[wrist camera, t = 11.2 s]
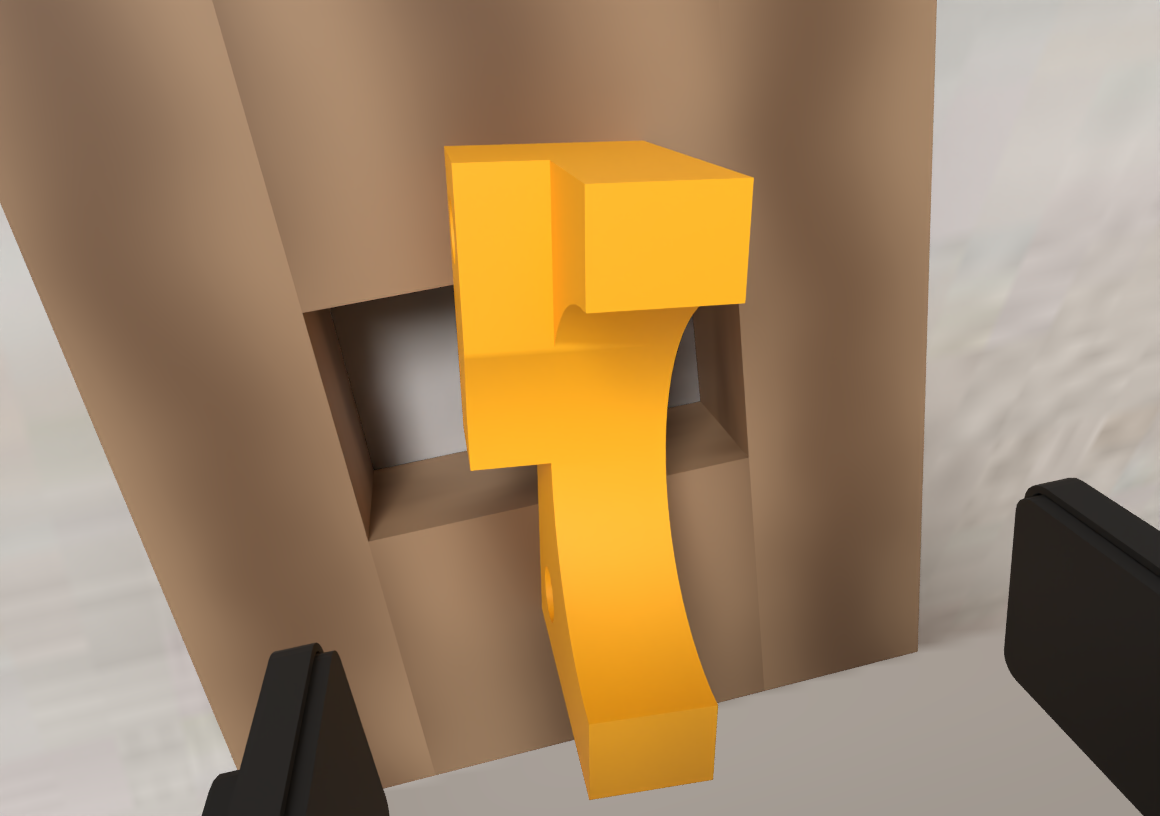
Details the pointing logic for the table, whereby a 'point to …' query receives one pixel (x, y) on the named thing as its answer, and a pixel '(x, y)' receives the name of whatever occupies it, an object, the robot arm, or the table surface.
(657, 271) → the orange curved block
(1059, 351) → the table surface
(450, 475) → the cutout shelf
